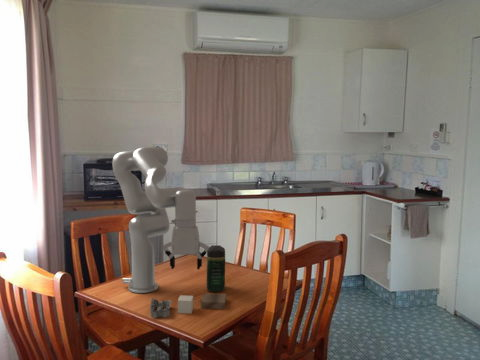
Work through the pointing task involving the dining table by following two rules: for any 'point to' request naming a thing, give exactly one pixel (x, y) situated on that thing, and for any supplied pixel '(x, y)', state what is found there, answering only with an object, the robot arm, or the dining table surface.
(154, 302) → the egg carton
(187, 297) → the cube
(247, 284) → the dining table surface
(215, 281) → the coffee jar
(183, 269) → the dining table surface
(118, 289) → the dining table surface
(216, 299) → the base
